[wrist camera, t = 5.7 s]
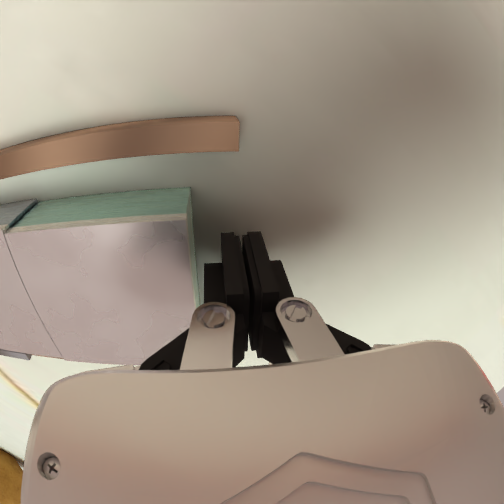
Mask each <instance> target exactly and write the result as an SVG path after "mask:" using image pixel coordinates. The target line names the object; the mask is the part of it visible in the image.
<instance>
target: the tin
mask: <svg viewBox="0 0 504 504" xmlns="http://www.w3.org/2000/svg"><path fill="white" fill-rule="evenodd" d="M4 235H5V238H6V241H7V244H8V247H9V249H10V252H11V255H12V257H13V260H14V262H15V265H16V267H17V270H18V272H19V275H20V277H21V279H22V281H23V284H24V286H25V288H26V290H27V292H28V295H29V297H30V299H31V301H32V303H33V305H34V307H35V309H36V311H37V313H38V315H39V317H40V319H41V320H42V322H43V324H44V326H45V328H46V330H47V331H48V333H49V335H50V337H51V338H52V340H53V342H54V343H55V345H56V347H57V348H58V350H59V352H60V353H61V355H62V356H63V358H64V360H67V361H77V362H89V363H102V364H119V365H130V364H133V365H141V364H142V363H143V362H144V361H145V360H146V359H147V358H149V357H150V356H152V355H153V354H154V353H156V352H157V351H158V350H160V349H161V348H162V347H164V346H165V345H167V344H168V343H169V342H171V341H172V340H173V339H175V338H176V337H177V336H179V335H180V334H181V333H183V332H184V331H186V330H187V329H188V328H190V323H191V319H192V315H193V313H194V311H195V309H196V308H198V307H199V306H200V298H199V289H198V279H197V269H196V258H195V246H194V233H193V219H192V204H191V187H184V188H166V189H151V190H138V191H126V192H115V193H105V194H95V195H86V196H78V197H70V198H62V199H54V200H47V201H41V202H39V203H38V204H36V205H35V206H34V207H33V208H32V209H31V210H30V211H29V212H28V213H27V214H26V215H25V216H24V217H23V218H22V219H21V220H20V221H19V222H17V223H16V224H15V225H14V226H13V227H12V228H9V229H8V230H7V231H6V232H5V233H4Z"/></svg>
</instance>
